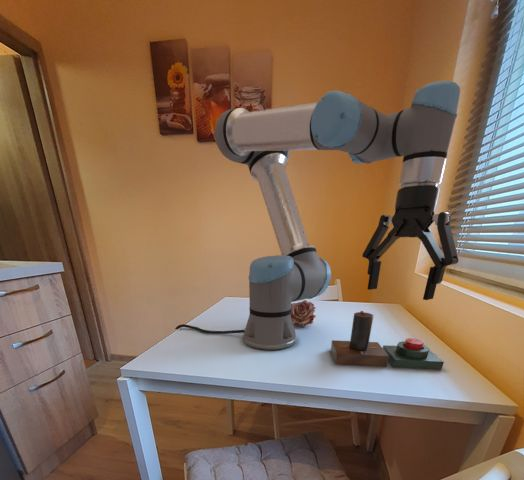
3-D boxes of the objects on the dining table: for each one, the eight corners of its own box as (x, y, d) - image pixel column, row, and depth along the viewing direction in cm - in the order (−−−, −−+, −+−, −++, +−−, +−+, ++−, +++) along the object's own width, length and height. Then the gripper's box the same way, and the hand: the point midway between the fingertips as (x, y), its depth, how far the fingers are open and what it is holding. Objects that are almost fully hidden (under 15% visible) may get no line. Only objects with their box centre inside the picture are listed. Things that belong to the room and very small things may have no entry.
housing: (393, 367, 66) (396, 352, 64) (381, 352, 74) (384, 338, 73) (441, 370, 65) (446, 354, 64) (424, 354, 73) (428, 340, 72)
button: (407, 350, 67) (409, 343, 66) (401, 344, 70) (402, 337, 70) (424, 351, 66) (426, 344, 66) (417, 345, 70) (419, 338, 69)
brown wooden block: (335, 365, 67) (337, 353, 66) (330, 350, 75) (331, 339, 74) (386, 367, 66) (389, 355, 65) (375, 352, 74) (378, 341, 73)
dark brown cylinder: (369, 351, 67) (376, 316, 64) (351, 350, 68) (356, 315, 64) (365, 344, 71) (370, 311, 68) (347, 343, 72) (352, 310, 68)
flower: (288, 314, 101) (286, 300, 95) (313, 310, 100) (313, 295, 94) (292, 336, 96) (290, 322, 90) (318, 331, 95) (318, 317, 89)
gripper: (502, 180, 48) (466, 302, 56) (375, 194, 67) (362, 284, 75) (484, 175, 44) (448, 306, 52) (355, 192, 63) (343, 286, 71)
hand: (397, 293), depth 64 cm, fingers open, 13 cm apart
